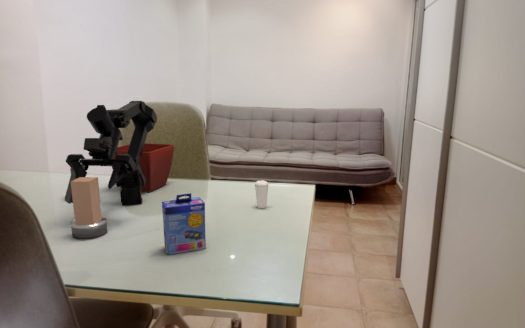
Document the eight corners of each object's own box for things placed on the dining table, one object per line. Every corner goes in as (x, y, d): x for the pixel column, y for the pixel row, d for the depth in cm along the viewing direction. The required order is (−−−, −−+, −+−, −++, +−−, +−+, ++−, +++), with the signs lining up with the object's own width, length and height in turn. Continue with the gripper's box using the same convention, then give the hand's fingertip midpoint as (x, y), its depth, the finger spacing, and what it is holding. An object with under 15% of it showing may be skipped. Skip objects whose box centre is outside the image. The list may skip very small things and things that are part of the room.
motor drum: (109, 226, 110) (108, 215, 109) (105, 238, 102) (104, 225, 101) (76, 229, 108) (74, 217, 107) (68, 241, 99) (67, 229, 99)
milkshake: (269, 209, 124) (269, 180, 122) (253, 208, 125) (253, 179, 123) (272, 205, 128) (271, 177, 127) (256, 204, 130) (256, 176, 128)
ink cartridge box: (167, 256, 90) (163, 197, 87) (163, 247, 95) (159, 192, 92) (207, 248, 94) (205, 192, 91) (201, 241, 99) (199, 187, 96)
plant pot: (151, 195, 142) (148, 151, 139) (109, 192, 147) (105, 149, 144) (177, 183, 160) (175, 144, 157) (138, 181, 165) (135, 142, 162)
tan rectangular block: (101, 218, 106) (97, 177, 104) (93, 224, 102) (89, 181, 99) (84, 218, 107) (79, 177, 104) (75, 224, 102) (70, 181, 99)
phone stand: (69, 203, 133) (65, 170, 131) (64, 199, 138) (60, 167, 136) (95, 198, 139) (92, 166, 137) (90, 195, 144) (87, 164, 141)
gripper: (65, 126, 109) (46, 172, 100) (128, 126, 108) (114, 173, 99) (82, 149, 118) (66, 193, 110) (141, 149, 117) (129, 193, 108)
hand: (93, 188), depth 106 cm, fingers open, 9 cm apart
